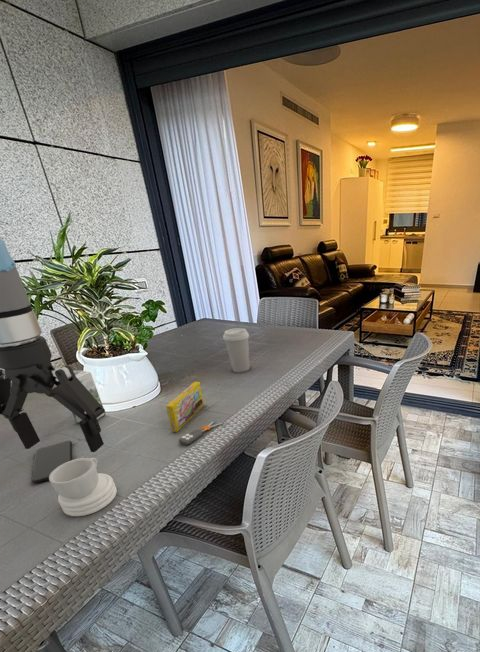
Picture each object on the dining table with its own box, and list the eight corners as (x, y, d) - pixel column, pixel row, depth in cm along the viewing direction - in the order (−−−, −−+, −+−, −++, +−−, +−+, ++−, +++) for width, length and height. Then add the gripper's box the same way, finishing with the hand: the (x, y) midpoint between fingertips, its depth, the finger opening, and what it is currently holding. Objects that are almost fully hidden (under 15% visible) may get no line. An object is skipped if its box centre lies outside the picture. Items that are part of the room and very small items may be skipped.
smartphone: (37, 451, 91) (32, 485, 79) (35, 449, 91) (30, 482, 79) (72, 442, 95) (73, 472, 83) (71, 439, 94) (71, 469, 82)
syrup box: (90, 413, 109) (73, 369, 102) (107, 414, 108) (90, 370, 101) (75, 422, 104) (56, 377, 97) (92, 424, 103) (74, 378, 96)
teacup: (86, 505, 68) (75, 484, 65) (49, 503, 69) (38, 482, 66) (117, 472, 77) (109, 452, 74) (84, 471, 77) (75, 451, 75)
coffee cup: (231, 375, 131) (224, 336, 124) (226, 367, 139) (219, 329, 132) (256, 370, 134) (251, 332, 127) (250, 362, 142) (245, 326, 135)
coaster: (54, 521, 70) (46, 508, 68) (76, 487, 78) (70, 475, 76) (107, 514, 71) (101, 500, 69) (123, 481, 79) (119, 469, 78)
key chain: (188, 446, 91) (186, 441, 90) (178, 442, 93) (177, 438, 92) (224, 423, 100) (223, 419, 100) (214, 420, 102) (213, 416, 101)
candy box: (178, 432, 97) (171, 406, 93) (171, 432, 97) (164, 406, 93) (205, 405, 111) (200, 381, 107) (198, 404, 111) (193, 381, 107)
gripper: (101, 333, 59) (136, 438, 70) (-30, 332, 62) (22, 433, 72) (69, 348, 53) (113, 461, 63) (-76, 346, 56) (-11, 454, 66)
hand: (65, 446), depth 68 cm, fingers open, 13 cm apart
